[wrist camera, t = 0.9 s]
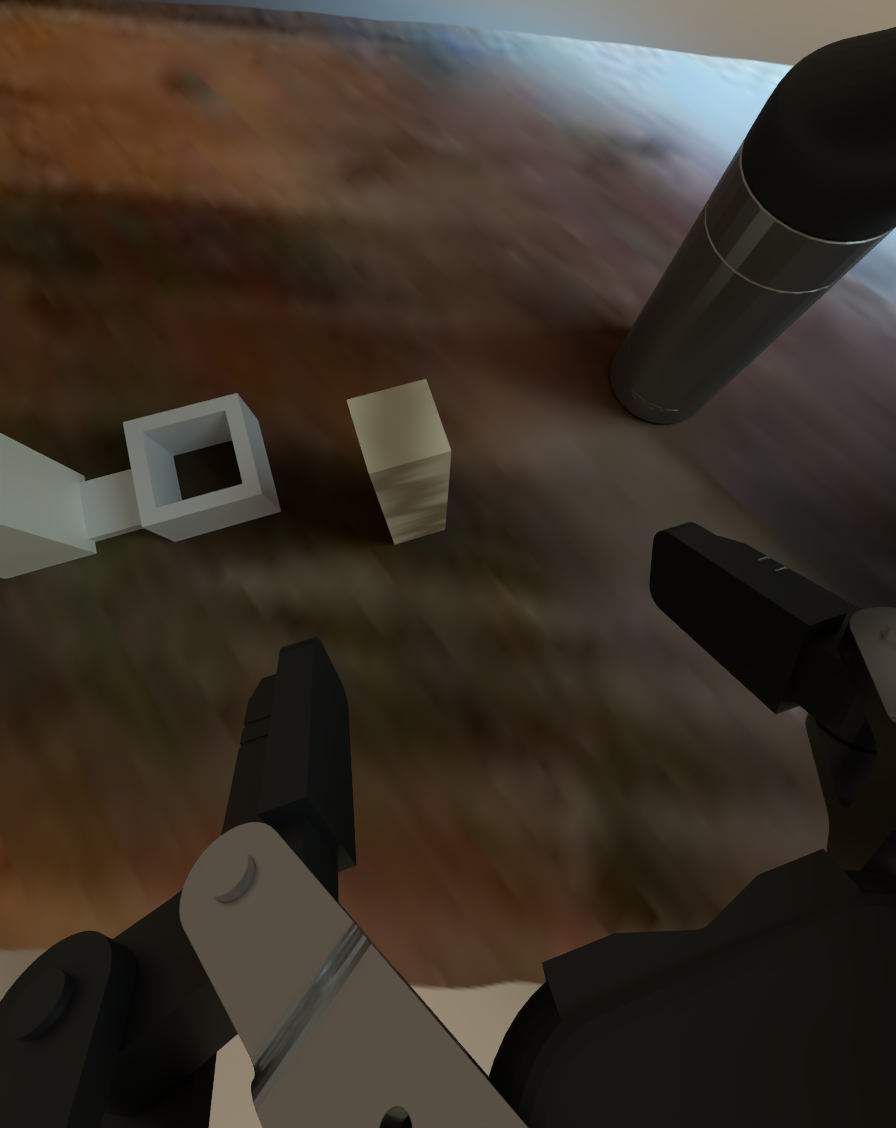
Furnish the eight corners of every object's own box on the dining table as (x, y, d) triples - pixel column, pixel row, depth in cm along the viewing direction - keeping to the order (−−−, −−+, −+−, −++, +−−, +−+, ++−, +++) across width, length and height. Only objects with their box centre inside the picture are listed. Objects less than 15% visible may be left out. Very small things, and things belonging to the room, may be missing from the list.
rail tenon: (429, 482, 36) (426, 378, 23) (445, 529, 36) (451, 450, 22) (380, 496, 36) (346, 399, 22) (394, 544, 35) (369, 474, 22)
